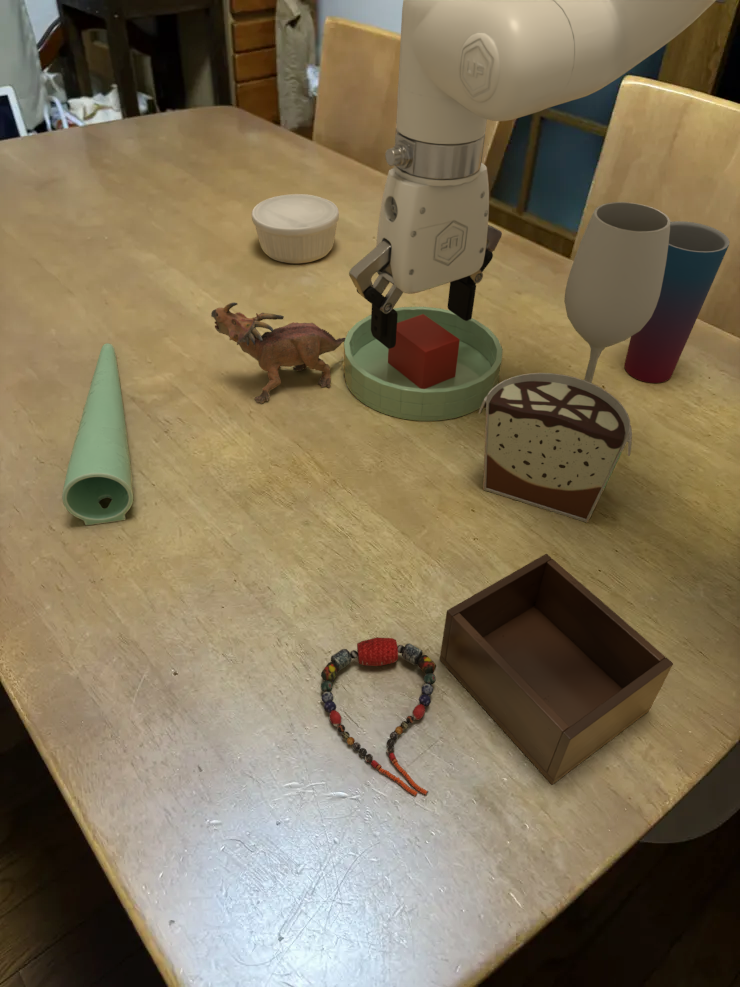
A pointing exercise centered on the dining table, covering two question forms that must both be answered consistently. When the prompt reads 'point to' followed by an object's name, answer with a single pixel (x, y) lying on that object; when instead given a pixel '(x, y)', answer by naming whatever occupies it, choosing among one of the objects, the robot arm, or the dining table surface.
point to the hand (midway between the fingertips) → (422, 327)
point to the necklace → (377, 655)
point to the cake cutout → (552, 441)
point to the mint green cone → (100, 450)
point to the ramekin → (296, 227)
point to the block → (424, 352)
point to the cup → (677, 300)
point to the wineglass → (616, 275)
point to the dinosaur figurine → (278, 344)
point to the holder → (551, 664)
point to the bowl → (400, 395)
